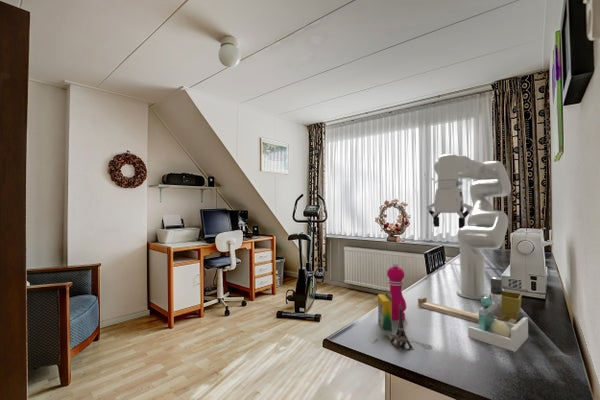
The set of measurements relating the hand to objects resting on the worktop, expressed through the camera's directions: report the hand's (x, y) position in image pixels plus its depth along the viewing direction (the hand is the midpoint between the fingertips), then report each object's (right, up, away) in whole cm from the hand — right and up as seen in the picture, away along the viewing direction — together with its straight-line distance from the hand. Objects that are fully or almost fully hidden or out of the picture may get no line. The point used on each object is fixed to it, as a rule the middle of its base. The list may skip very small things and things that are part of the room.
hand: (448, 227), depth 115 cm
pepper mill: (-25, -32, -11) cm, 42 cm away
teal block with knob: (+2, -31, -22) cm, 38 cm away
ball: (+2, -29, -27) cm, 40 cm away
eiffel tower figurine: (-30, -32, -32) cm, 55 cm away
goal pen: (+1, -32, -26) cm, 41 cm away
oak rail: (0, -32, -10) cm, 34 cm away
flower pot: (+15, -32, -12) cm, 37 cm away
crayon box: (-32, -32, -19) cm, 49 cm away
